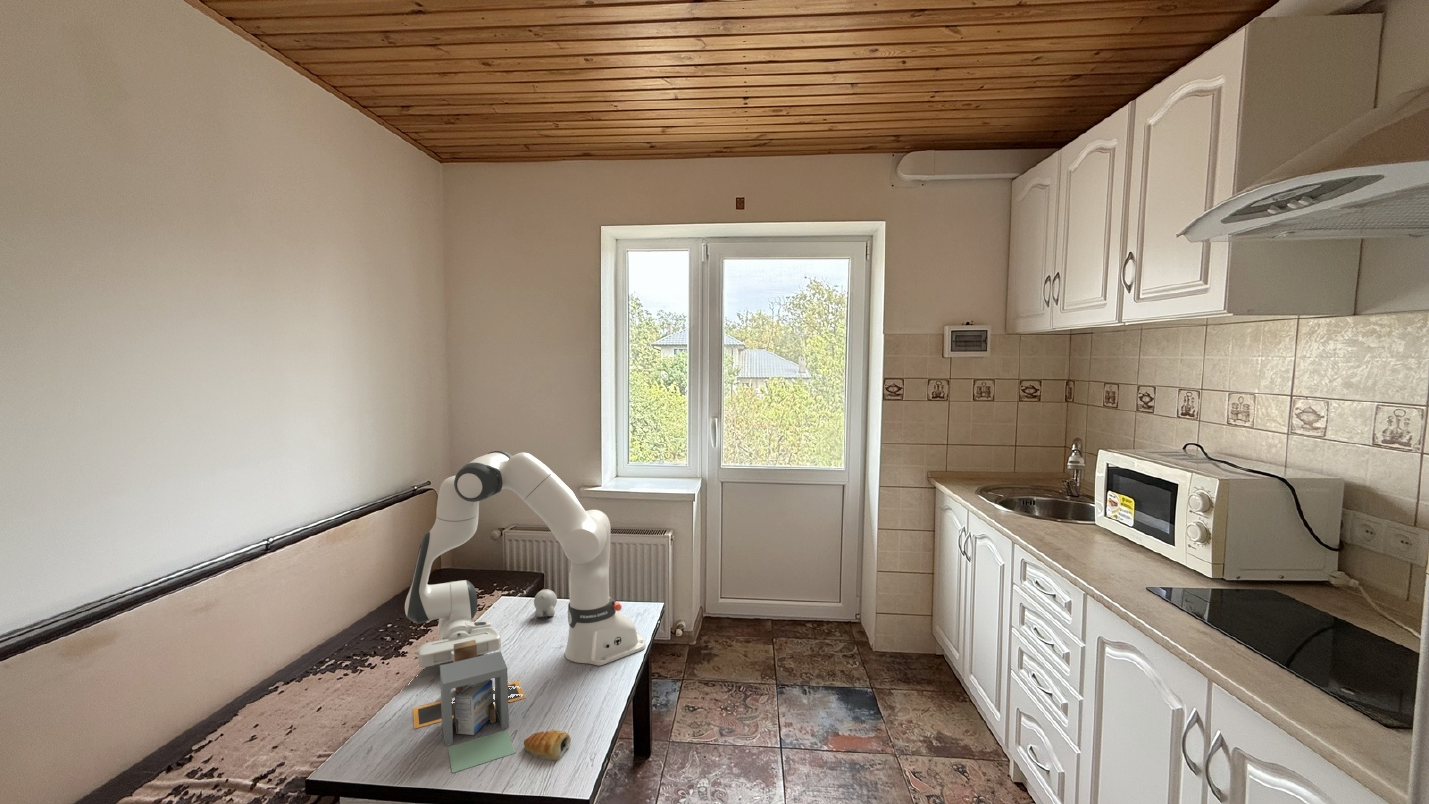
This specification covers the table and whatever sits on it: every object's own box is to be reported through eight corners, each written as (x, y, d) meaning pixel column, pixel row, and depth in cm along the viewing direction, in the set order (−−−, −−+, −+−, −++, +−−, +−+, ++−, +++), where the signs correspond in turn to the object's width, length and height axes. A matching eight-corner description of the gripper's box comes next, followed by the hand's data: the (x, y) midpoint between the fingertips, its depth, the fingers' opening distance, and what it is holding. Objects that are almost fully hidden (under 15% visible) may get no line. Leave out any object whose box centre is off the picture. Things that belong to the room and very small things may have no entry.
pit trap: (518, 681, 148) (518, 680, 148) (525, 698, 140) (525, 697, 140) (413, 708, 136) (413, 708, 136) (414, 729, 128) (414, 728, 128)
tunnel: (502, 706, 137) (500, 651, 136) (509, 726, 129) (507, 668, 128) (441, 723, 130) (439, 665, 130) (445, 745, 122) (442, 684, 122)
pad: (507, 730, 128) (507, 729, 128) (515, 753, 120) (515, 752, 120) (448, 747, 122) (448, 747, 122) (452, 773, 114) (452, 772, 114)
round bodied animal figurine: (558, 616, 194) (559, 589, 197) (555, 616, 183) (556, 588, 186) (536, 617, 193) (537, 590, 196) (531, 617, 182) (532, 589, 185)
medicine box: (473, 736, 125) (472, 697, 125) (455, 734, 126) (453, 695, 126) (494, 715, 133) (493, 678, 132) (477, 713, 134) (475, 676, 133)
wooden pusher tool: (482, 680, 148) (481, 638, 147) (495, 721, 130) (493, 674, 129) (448, 688, 144) (446, 645, 143) (456, 733, 126) (455, 684, 125)
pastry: (517, 757, 119) (516, 739, 119) (534, 737, 125) (534, 720, 125) (558, 763, 117) (558, 745, 117) (573, 743, 123) (573, 725, 123)
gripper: (415, 636, 156) (417, 658, 144) (495, 620, 166) (503, 639, 154) (416, 659, 156) (418, 683, 144) (496, 641, 166) (504, 662, 154)
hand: (463, 660), depth 149 cm, fingers closed
